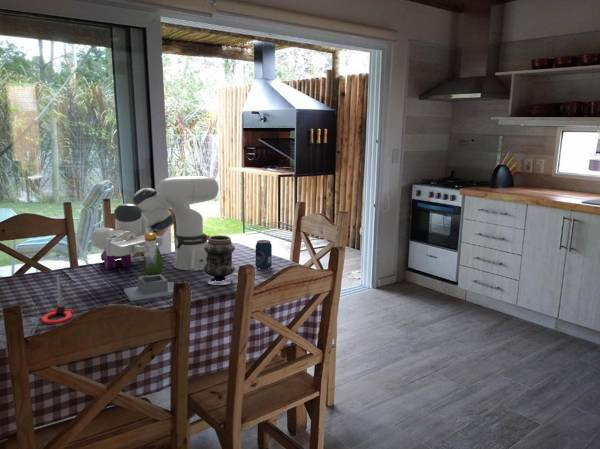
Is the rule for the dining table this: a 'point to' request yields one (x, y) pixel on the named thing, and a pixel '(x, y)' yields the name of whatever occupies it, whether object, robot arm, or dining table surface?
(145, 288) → the grey box on plate
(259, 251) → the soda can
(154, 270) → the avocado
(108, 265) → the mounting bracket
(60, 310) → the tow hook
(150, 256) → the white gold-topped cylinder
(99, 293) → the dining table surface
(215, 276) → the ornate stone vase
